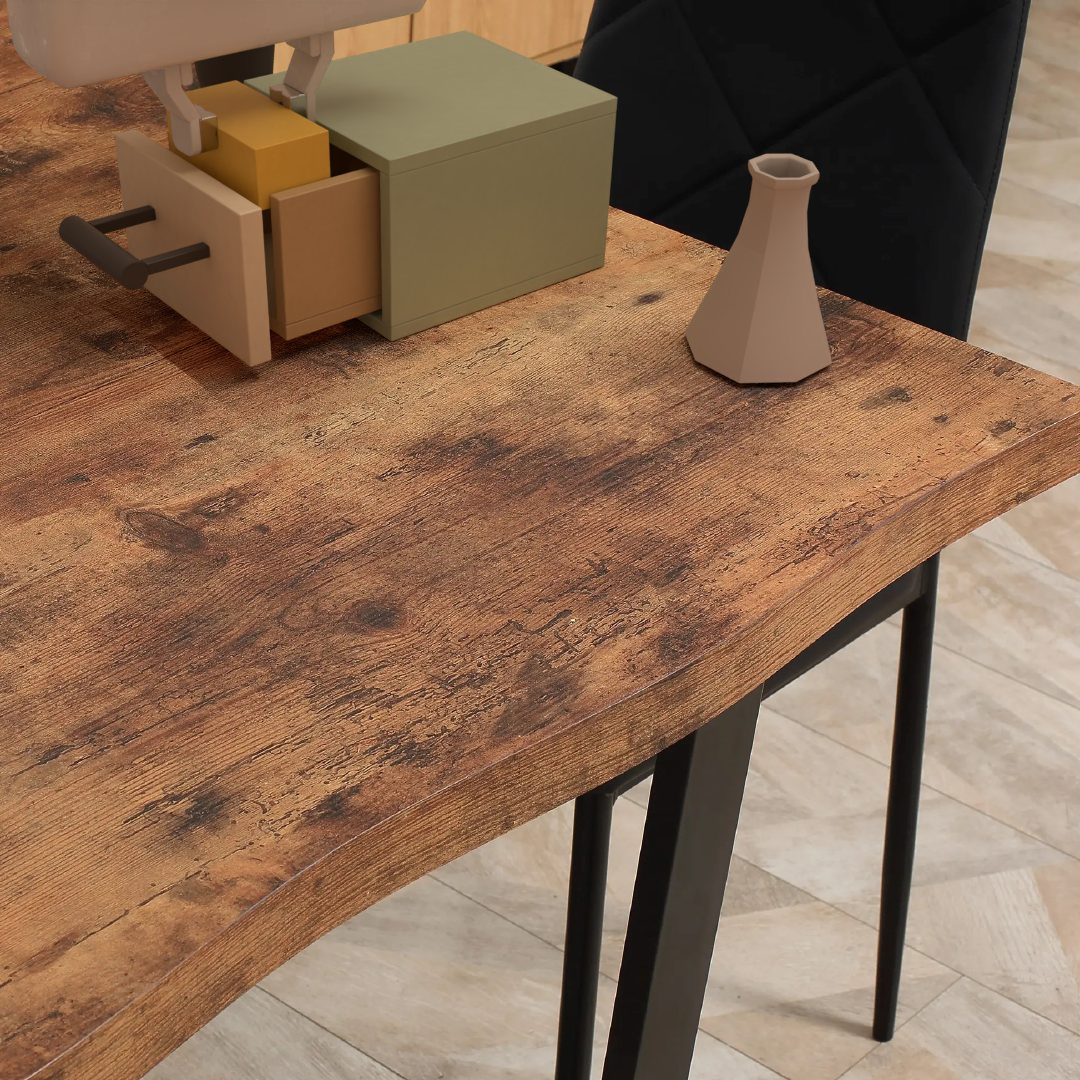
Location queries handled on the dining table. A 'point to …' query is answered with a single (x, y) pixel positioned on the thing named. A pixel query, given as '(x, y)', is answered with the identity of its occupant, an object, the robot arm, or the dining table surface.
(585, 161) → the cabinet
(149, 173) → the drawer
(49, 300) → the dining table surface
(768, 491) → the dining table surface
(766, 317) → the flask
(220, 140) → the yellow rectangular block
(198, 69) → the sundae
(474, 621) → the dining table surface
